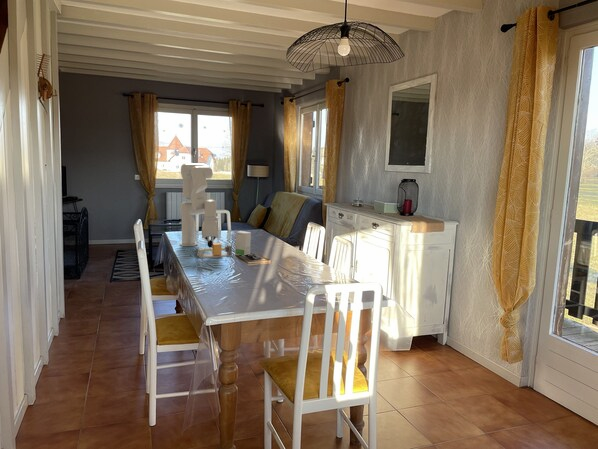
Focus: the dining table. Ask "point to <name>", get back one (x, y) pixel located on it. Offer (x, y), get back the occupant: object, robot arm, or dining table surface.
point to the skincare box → (242, 243)
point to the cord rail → (226, 249)
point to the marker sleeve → (217, 248)
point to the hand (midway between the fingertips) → (210, 247)
